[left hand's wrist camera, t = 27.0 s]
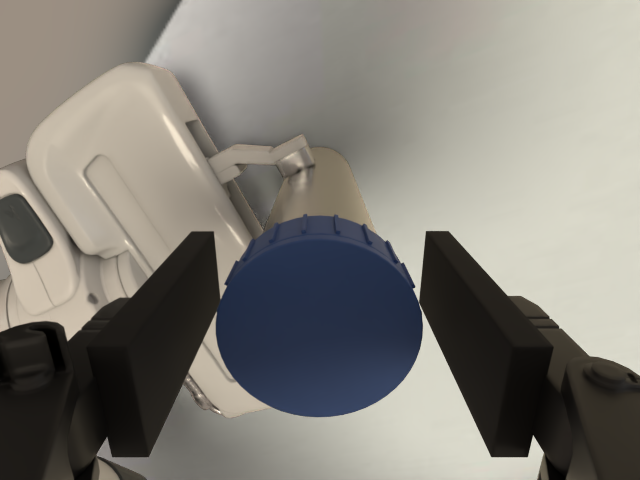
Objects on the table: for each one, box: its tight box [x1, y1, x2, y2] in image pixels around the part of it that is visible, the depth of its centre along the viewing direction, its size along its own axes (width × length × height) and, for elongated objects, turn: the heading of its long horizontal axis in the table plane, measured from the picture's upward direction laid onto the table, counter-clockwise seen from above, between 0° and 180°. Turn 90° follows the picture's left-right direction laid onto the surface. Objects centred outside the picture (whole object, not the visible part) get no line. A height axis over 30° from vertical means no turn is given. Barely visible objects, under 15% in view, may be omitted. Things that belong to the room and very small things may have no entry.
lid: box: [216, 214, 423, 417], centre depth 11 cm, size 5×5×2 cm
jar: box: [262, 147, 376, 234], centre depth 19 cm, size 4×4×18 cm
